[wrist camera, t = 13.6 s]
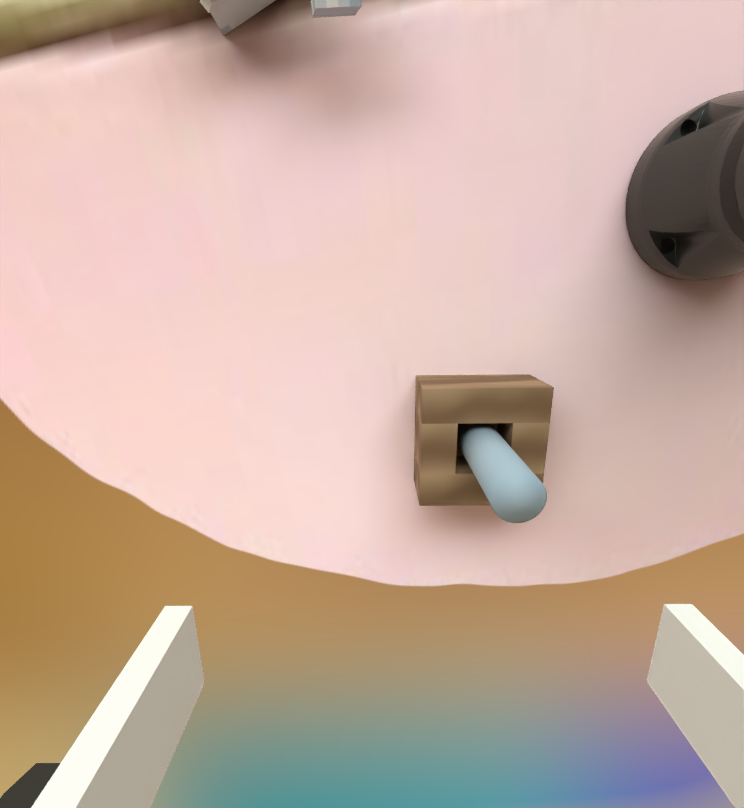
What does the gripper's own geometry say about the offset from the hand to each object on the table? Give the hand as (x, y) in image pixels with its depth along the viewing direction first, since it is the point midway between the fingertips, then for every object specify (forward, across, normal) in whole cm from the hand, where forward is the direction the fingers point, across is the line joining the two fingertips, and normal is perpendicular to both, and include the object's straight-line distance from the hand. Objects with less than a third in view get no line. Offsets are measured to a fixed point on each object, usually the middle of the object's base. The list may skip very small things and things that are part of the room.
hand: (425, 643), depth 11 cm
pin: (+31, +9, -5) cm, 33 cm away
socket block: (+33, +9, -5) cm, 34 cm away
